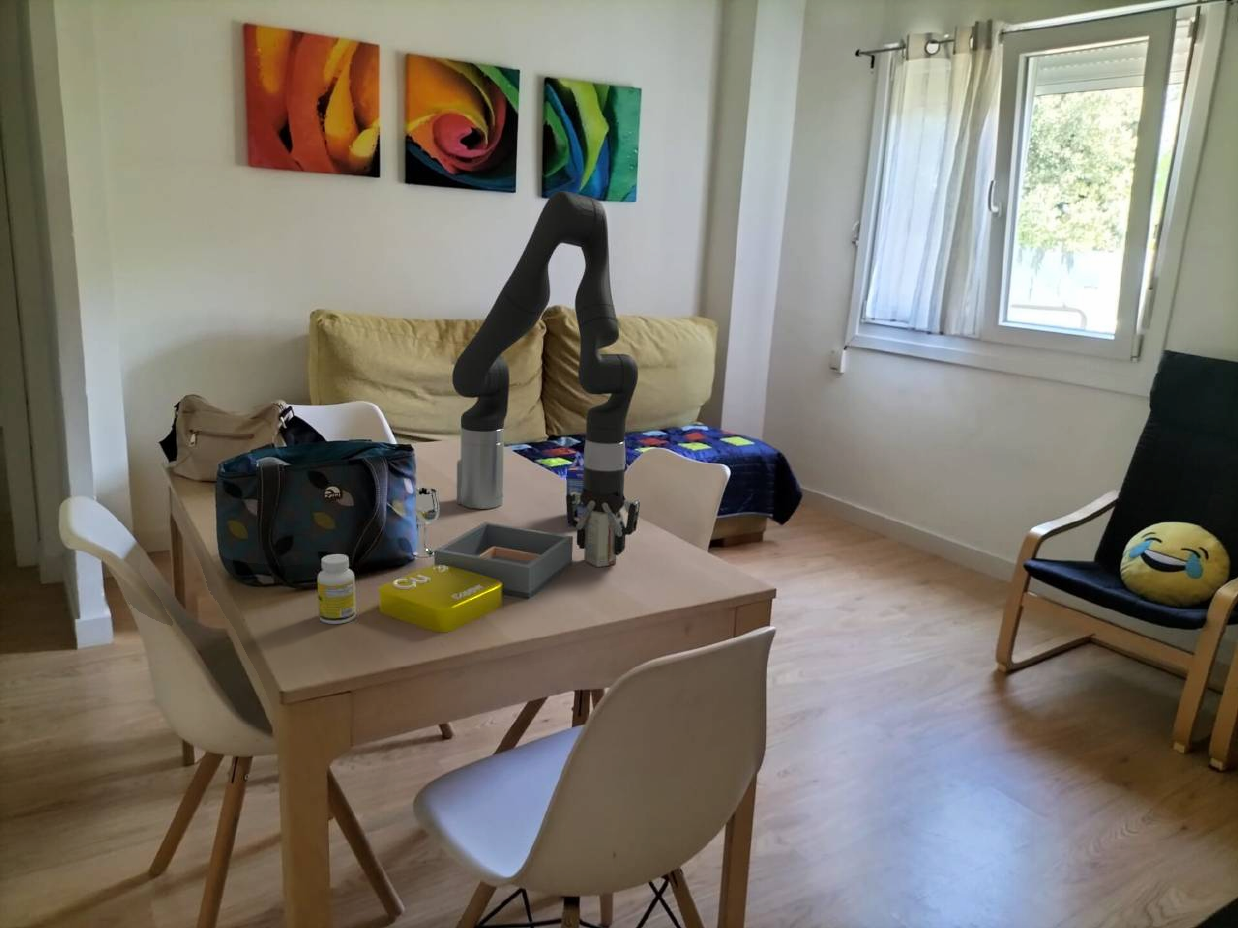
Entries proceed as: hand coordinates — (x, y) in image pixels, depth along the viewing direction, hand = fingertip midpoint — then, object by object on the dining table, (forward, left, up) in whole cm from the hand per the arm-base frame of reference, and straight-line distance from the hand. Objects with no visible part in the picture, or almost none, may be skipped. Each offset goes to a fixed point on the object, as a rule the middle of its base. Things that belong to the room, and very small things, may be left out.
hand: (600, 550), depth 172 cm
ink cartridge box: (-13, +22, -2) cm, 26 cm away
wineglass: (-31, -11, -2) cm, 33 cm away
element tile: (-15, -31, -3) cm, 35 cm away
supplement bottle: (-27, -42, -2) cm, 50 cm away
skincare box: (0, 0, -2) cm, 2 cm away
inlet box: (-13, -13, -2) cm, 19 cm away
